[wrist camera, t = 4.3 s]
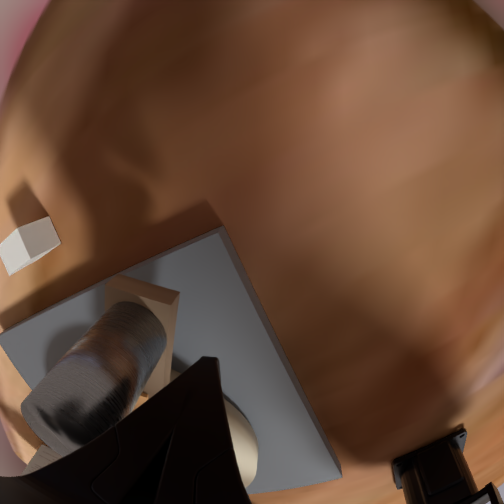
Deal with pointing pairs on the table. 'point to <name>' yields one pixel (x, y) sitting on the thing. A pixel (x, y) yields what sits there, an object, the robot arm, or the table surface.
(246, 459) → the dial
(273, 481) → the base plate
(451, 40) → the table surface
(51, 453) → the product box
